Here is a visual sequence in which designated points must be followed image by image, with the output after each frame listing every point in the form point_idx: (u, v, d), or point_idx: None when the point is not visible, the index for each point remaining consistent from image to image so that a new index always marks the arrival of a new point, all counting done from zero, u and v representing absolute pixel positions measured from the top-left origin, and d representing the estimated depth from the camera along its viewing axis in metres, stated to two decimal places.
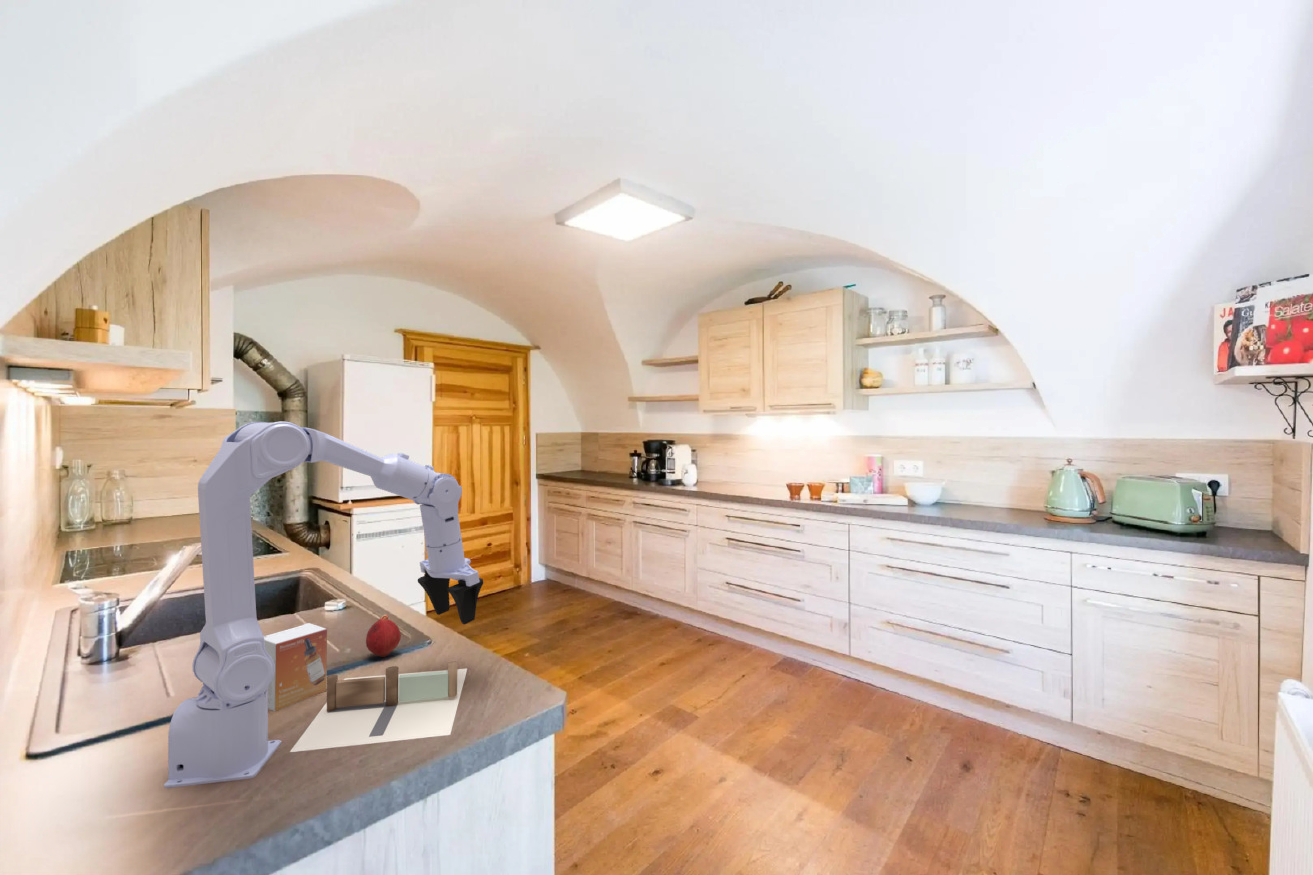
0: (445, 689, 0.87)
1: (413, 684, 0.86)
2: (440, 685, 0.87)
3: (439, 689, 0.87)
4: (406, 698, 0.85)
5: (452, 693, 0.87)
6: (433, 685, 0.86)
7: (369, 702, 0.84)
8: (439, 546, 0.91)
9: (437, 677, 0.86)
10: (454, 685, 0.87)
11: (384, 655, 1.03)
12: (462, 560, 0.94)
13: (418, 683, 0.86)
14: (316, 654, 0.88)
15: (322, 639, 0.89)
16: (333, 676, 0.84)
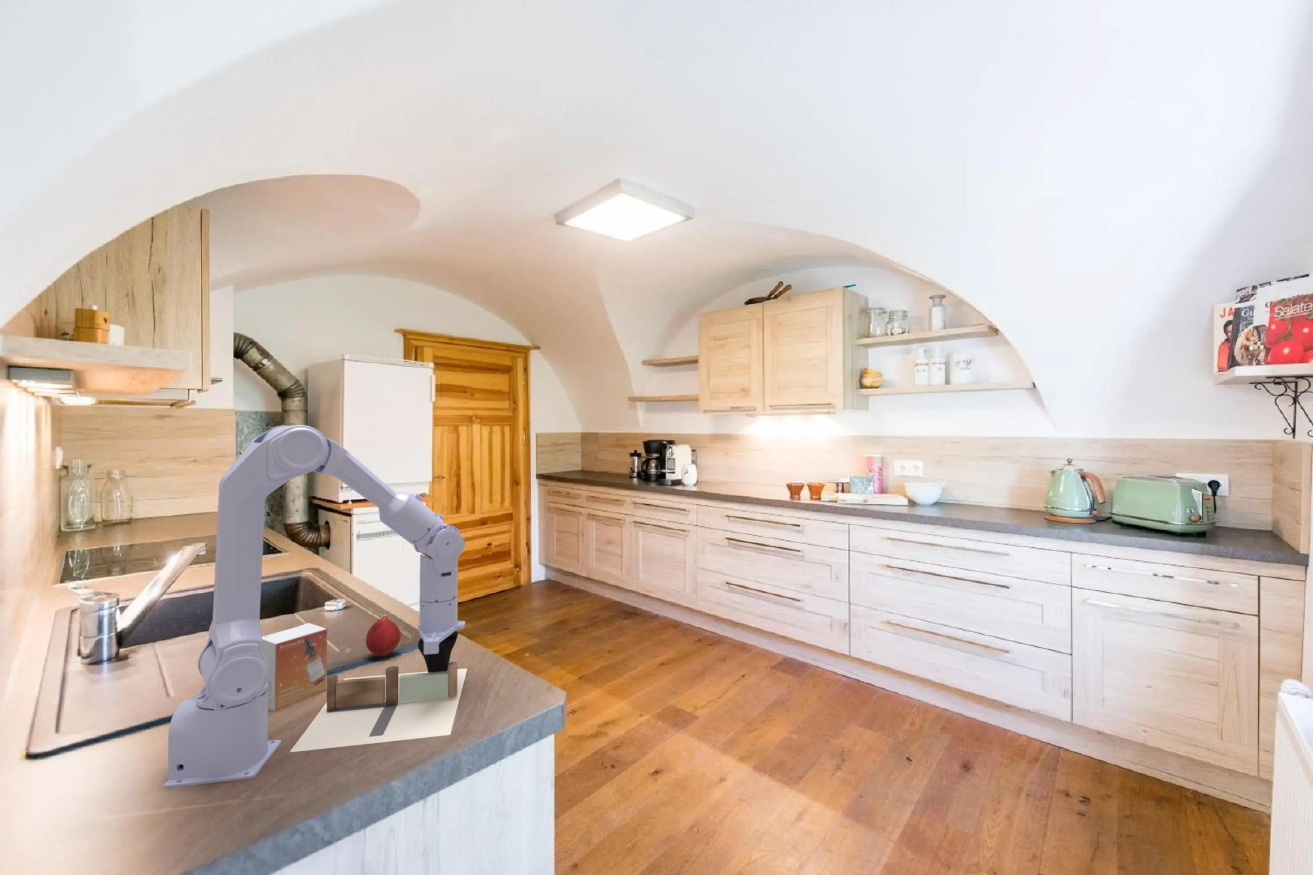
0: (445, 689, 0.87)
1: (413, 684, 0.86)
2: (440, 685, 0.87)
3: (439, 689, 0.87)
4: (406, 698, 0.85)
5: (452, 693, 0.87)
6: (433, 685, 0.86)
7: (369, 702, 0.84)
8: (422, 600, 0.86)
9: (437, 677, 0.86)
10: (454, 685, 0.87)
11: (384, 655, 1.03)
12: (445, 623, 0.87)
13: (418, 683, 0.86)
14: (316, 654, 0.88)
15: (322, 639, 0.89)
16: (333, 676, 0.84)
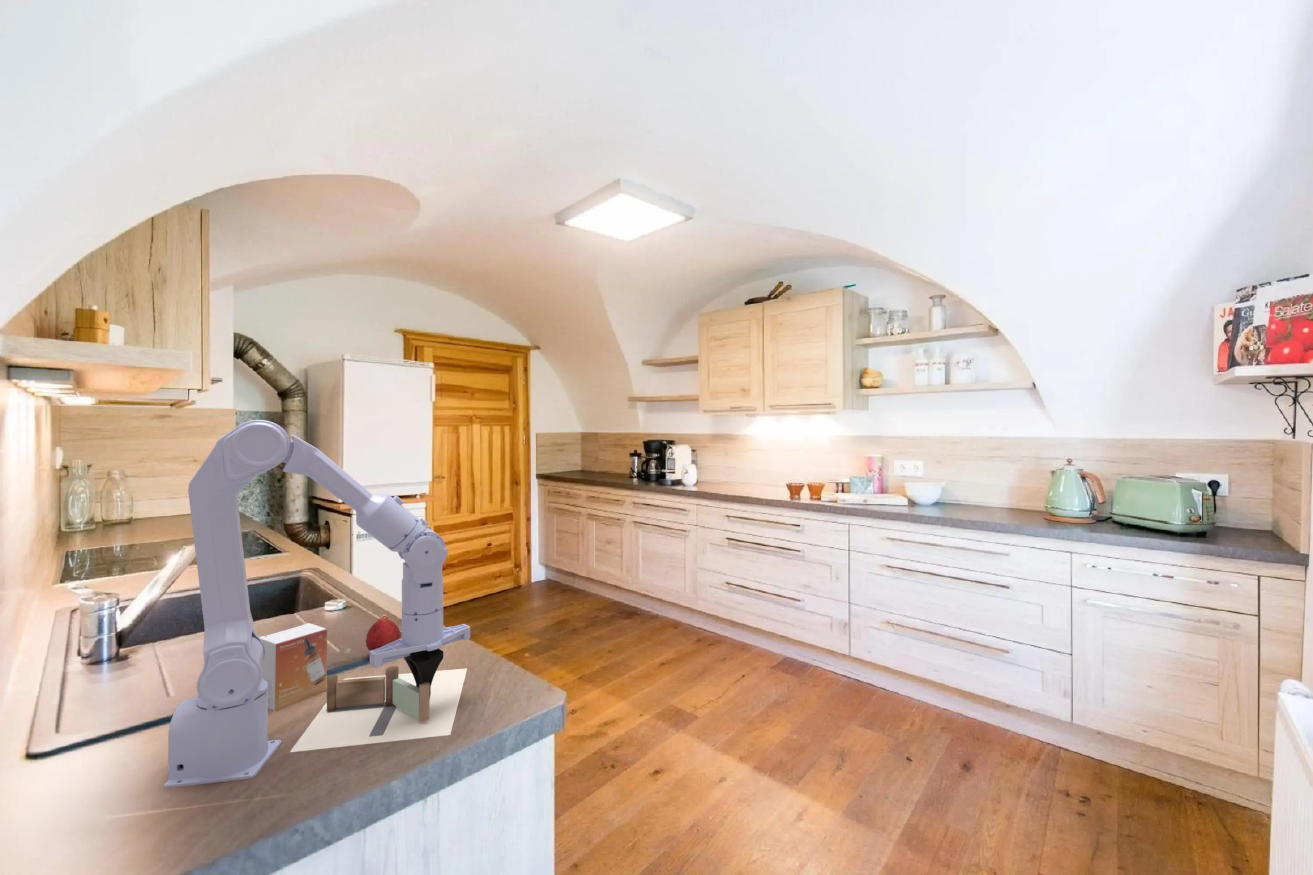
0: (417, 709, 0.80)
1: (399, 692, 0.83)
2: (414, 703, 0.81)
3: (413, 707, 0.81)
4: (396, 703, 0.84)
5: (420, 716, 0.80)
6: (410, 700, 0.81)
7: (369, 702, 0.84)
8: None
9: (412, 693, 0.81)
10: (422, 709, 0.80)
11: None
12: (410, 638, 0.80)
13: (402, 692, 0.83)
14: (316, 654, 0.88)
15: (322, 639, 0.89)
16: (333, 676, 0.84)
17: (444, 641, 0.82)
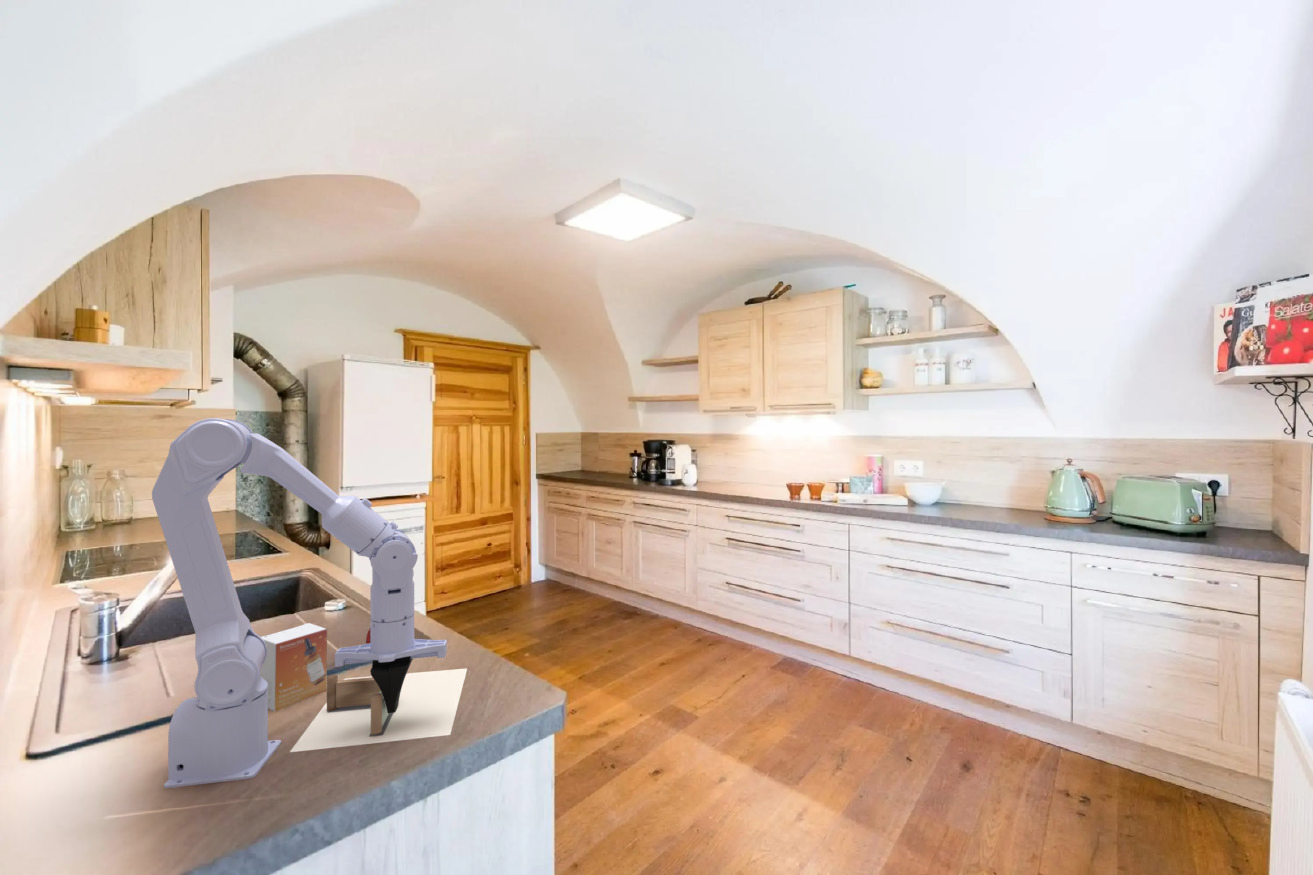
0: None
1: None
2: None
3: None
4: None
5: None
6: None
7: (369, 702, 0.84)
8: None
9: None
10: (371, 720, 0.76)
11: None
12: (371, 644, 0.77)
13: None
14: (316, 654, 0.88)
15: (322, 639, 0.89)
16: (333, 676, 0.84)
17: (404, 655, 0.77)
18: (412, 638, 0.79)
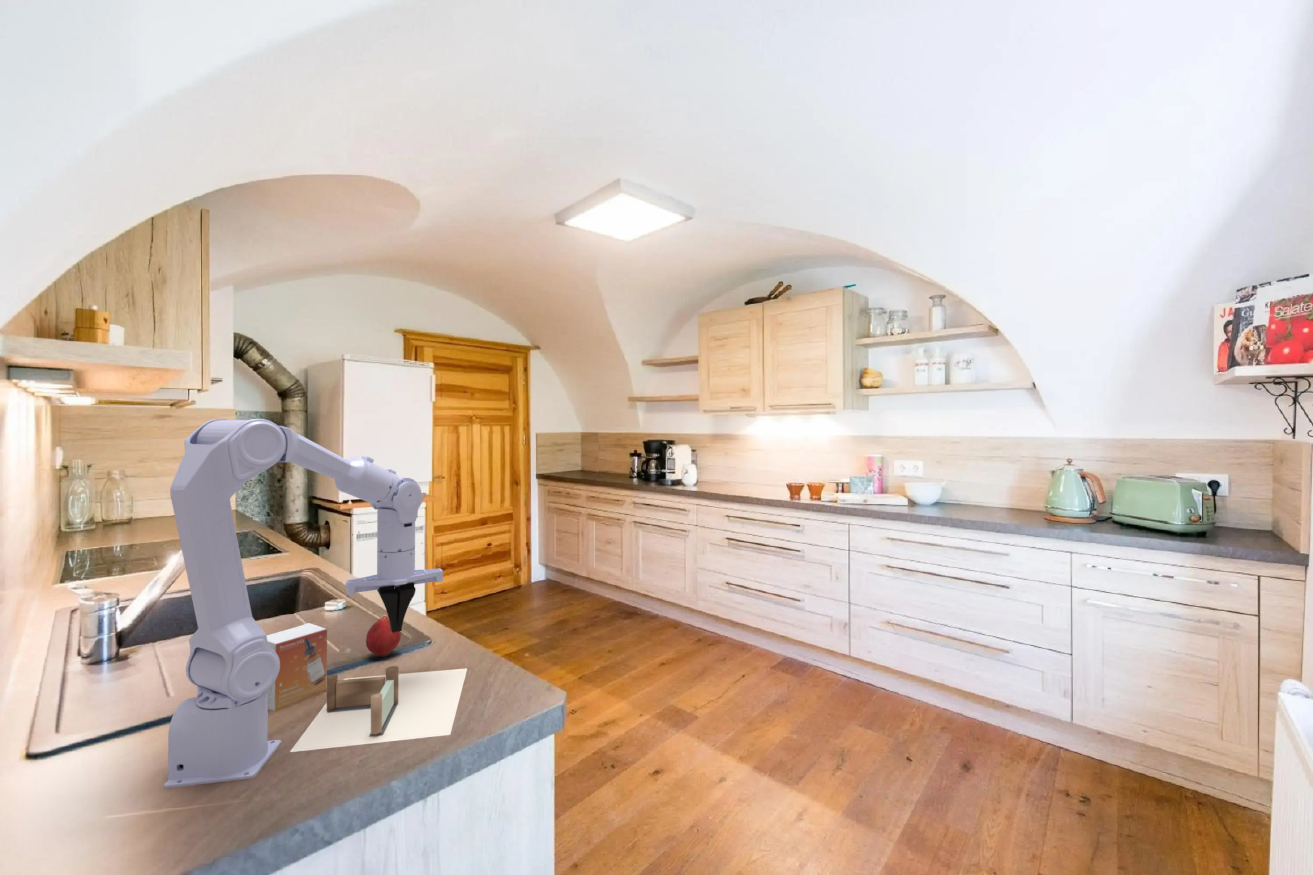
0: None
1: None
2: None
3: None
4: None
5: None
6: None
7: (369, 702, 0.84)
8: None
9: None
10: (371, 720, 0.76)
11: (384, 655, 1.03)
12: (381, 573, 0.89)
13: None
14: (316, 654, 0.88)
15: (322, 639, 0.89)
16: (333, 676, 0.84)
17: (412, 579, 0.91)
18: (414, 567, 0.93)
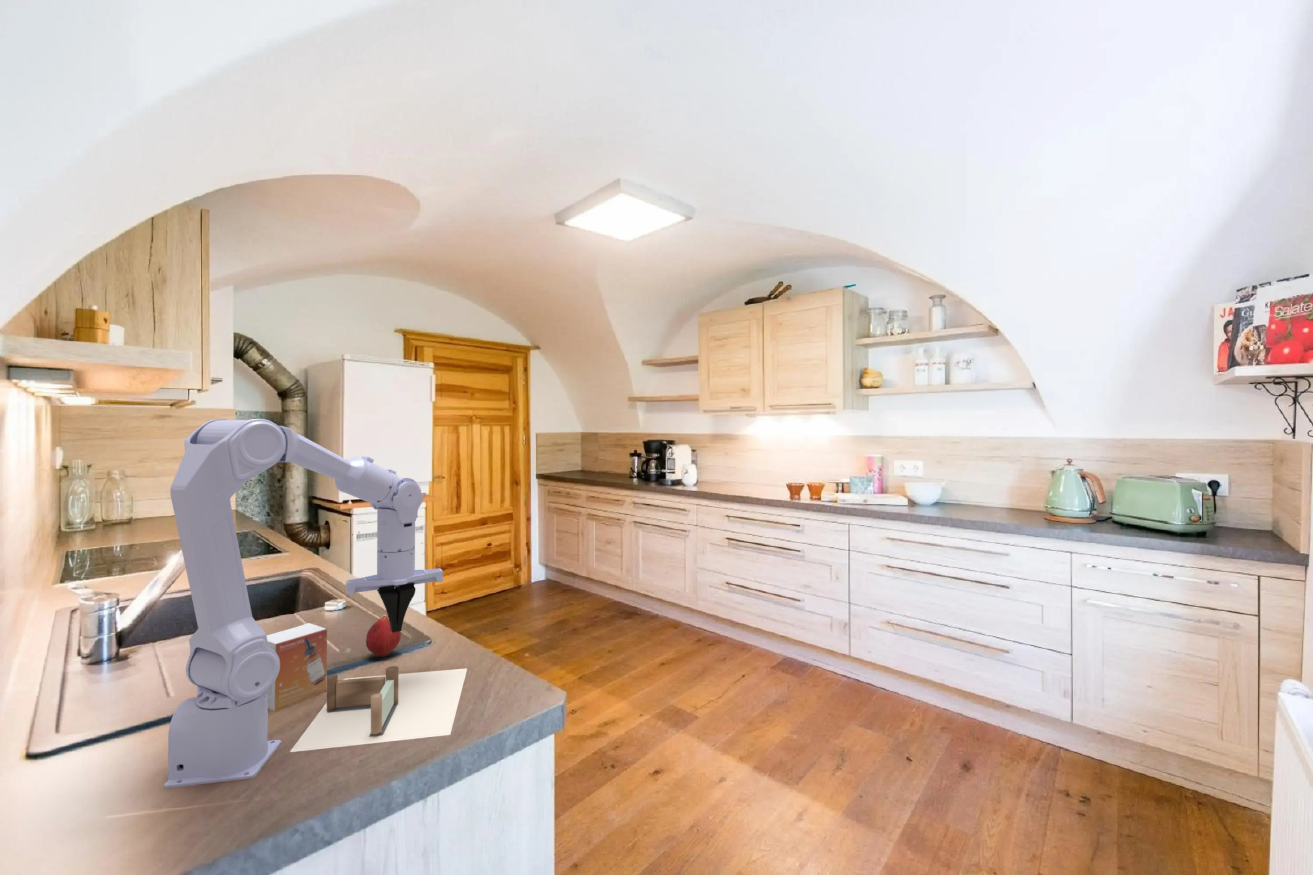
0: None
1: None
2: None
3: None
4: None
5: None
6: None
7: (369, 702, 0.84)
8: None
9: None
10: (371, 720, 0.76)
11: (384, 655, 1.03)
12: (381, 573, 0.89)
13: None
14: (316, 654, 0.88)
15: (322, 639, 0.89)
16: (333, 676, 0.84)
17: (412, 579, 0.91)
18: (414, 567, 0.93)
